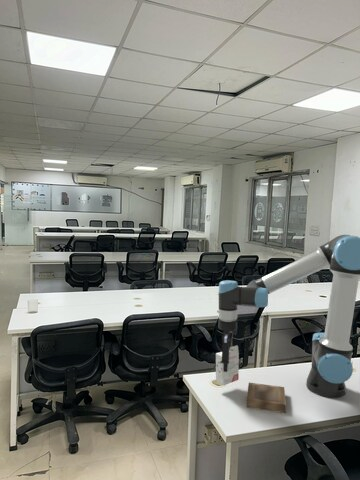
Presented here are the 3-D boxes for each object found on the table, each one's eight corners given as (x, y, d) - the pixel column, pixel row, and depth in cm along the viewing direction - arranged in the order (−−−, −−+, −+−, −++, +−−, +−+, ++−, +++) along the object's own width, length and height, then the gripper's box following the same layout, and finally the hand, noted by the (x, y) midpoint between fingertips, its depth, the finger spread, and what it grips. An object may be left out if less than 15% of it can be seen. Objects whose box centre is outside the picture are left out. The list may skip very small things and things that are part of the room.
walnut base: (284, 394, 140) (284, 386, 140) (285, 412, 127) (285, 404, 127) (248, 389, 144) (248, 382, 144) (246, 407, 130) (246, 399, 130)
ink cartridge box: (230, 375, 147) (230, 341, 146) (238, 380, 143) (239, 345, 142) (215, 381, 142) (215, 345, 141) (223, 385, 138) (223, 349, 137)
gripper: (222, 311, 153) (221, 361, 154) (214, 326, 132) (213, 384, 133) (239, 312, 151) (238, 363, 152) (234, 327, 130) (233, 386, 131)
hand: (227, 373), depth 143 cm, fingers closed on ink cartridge box, 9 cm apart
